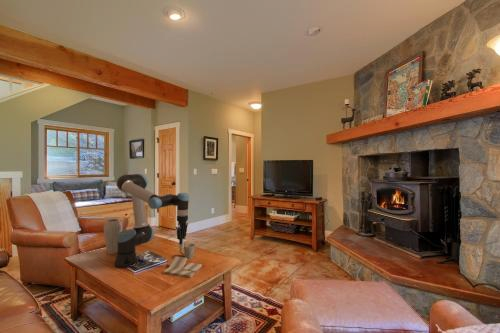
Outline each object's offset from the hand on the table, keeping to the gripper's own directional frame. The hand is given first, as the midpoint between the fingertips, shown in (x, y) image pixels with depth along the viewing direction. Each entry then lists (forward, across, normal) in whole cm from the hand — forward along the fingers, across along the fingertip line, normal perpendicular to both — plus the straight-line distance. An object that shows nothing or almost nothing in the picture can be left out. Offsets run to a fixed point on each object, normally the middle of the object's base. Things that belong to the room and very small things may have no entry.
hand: (181, 248), depth 167 cm
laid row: (+13, -5, -5) cm, 15 cm away
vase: (+15, +8, +66) cm, 68 cm away
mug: (+14, +16, +4) cm, 21 cm away
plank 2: (+12, -2, -10) cm, 16 cm away
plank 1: (+10, -2, +1) cm, 11 cm away
